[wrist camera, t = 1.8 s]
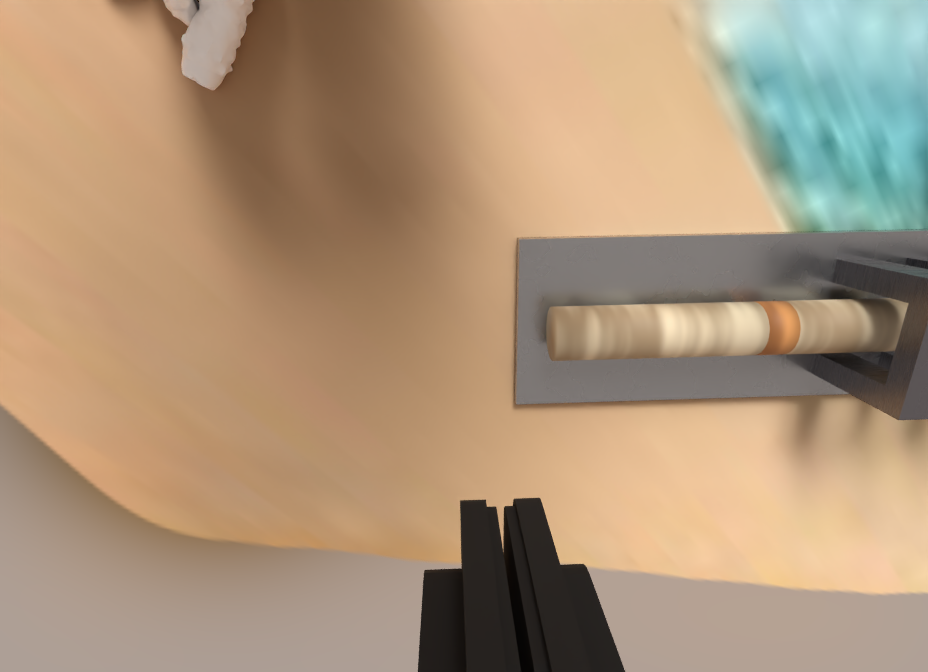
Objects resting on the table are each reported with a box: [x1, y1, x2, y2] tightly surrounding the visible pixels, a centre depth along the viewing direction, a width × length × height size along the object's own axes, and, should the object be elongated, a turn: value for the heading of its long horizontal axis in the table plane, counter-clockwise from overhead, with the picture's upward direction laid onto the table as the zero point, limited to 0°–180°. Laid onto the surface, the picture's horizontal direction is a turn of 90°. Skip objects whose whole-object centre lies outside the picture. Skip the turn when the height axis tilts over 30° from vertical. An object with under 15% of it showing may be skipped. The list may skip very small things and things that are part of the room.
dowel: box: [546, 298, 909, 361], centre depth 32 cm, size 24×4×4 cm, turn 91°
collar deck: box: [515, 229, 928, 420], centre depth 31 cm, size 12×40×9 cm, turn 91°
